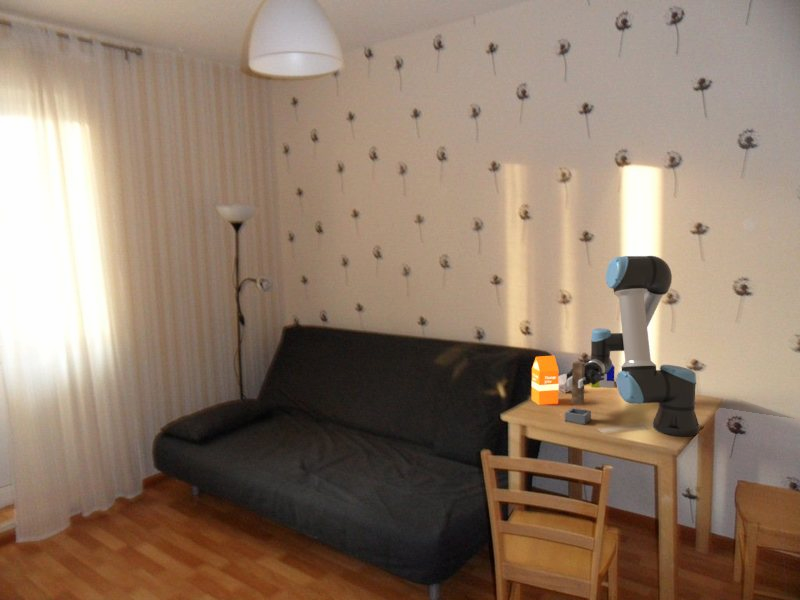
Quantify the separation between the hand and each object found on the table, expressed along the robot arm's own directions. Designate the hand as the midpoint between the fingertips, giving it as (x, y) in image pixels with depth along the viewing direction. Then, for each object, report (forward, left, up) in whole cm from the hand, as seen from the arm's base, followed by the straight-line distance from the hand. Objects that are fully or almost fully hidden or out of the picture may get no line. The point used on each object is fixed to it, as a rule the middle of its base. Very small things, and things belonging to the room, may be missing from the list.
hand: (573, 383), depth 211 cm
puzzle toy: (+47, -41, -16) cm, 65 cm away
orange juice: (+29, -3, -16) cm, 33 cm away
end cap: (+3, -4, -16) cm, 16 cm away
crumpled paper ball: (+41, -19, -16) cm, 48 cm away
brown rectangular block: (+4, -4, -9) cm, 11 cm away
